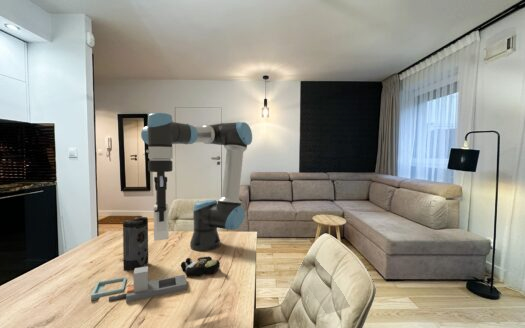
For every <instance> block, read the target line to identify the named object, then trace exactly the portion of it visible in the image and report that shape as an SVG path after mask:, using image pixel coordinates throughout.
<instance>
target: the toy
mask: <svg viewBox="0 0 525 328" xmlns="http://www.w3.org/2000/svg"><path fill="white" fill-rule="evenodd" d="M220 264H221V263H220V261H219V260H218V259H212V257H211V256H210V255H209V256H202V257H198V258H197V260H196V261H193V260H192V258H190V257H187V258H185V261H182V262H181V264H180V267H181V270H182V272H184V273H185V277H187V278H189V277H201V276H204V275H205V276H211V275H214V274H215V273H217V271H218V269H219V268H220Z"/></svg>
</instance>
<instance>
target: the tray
mask: <svg viewBox="0 0 525 328" xmlns="http://www.w3.org/2000/svg"><path fill="white" fill-rule="evenodd" d="M116 282H122V284H121V288H117V289H112V290H107V291H103V290H104V288H105V285H106V284H110V283H116ZM126 283H127V276H122V277H117V278H112V279H105V280H100V281H96V284H95V286H94V288H93V291H92V292H91V294H90V301H91V302H93V301H98V300H100V298H101V297H102V296H103V297H104V296H108V295H113V294H118V293H123V292H124V291H125V287H126Z"/></svg>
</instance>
